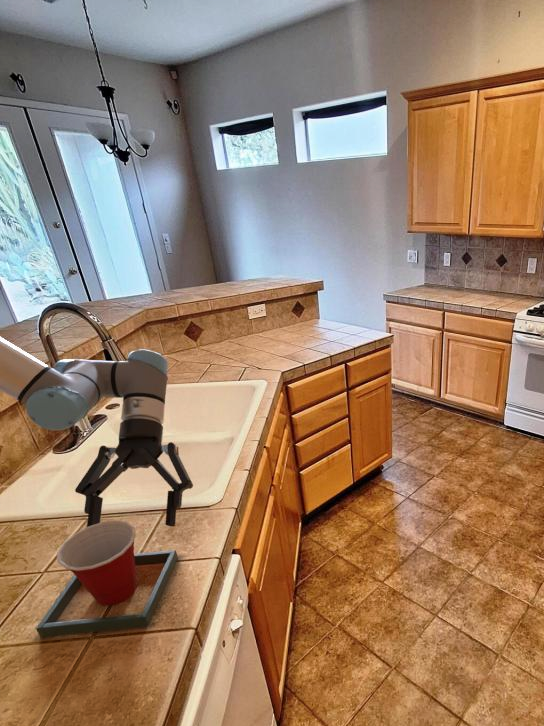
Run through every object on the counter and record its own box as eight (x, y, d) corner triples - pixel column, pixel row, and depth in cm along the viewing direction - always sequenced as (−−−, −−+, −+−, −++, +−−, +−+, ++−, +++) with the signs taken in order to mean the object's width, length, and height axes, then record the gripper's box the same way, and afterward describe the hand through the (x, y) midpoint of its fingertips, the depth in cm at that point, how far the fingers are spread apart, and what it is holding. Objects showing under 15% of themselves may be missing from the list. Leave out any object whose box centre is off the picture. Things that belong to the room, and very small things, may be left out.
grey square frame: (42, 642, 67) (35, 628, 65) (91, 570, 80) (86, 557, 79) (150, 630, 69) (145, 616, 67) (179, 562, 83) (175, 550, 81)
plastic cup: (64, 621, 69) (37, 565, 64) (103, 573, 79) (83, 520, 74) (132, 620, 70) (111, 564, 64) (163, 572, 79) (147, 520, 74)
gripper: (63, 419, 82) (45, 531, 75) (201, 413, 85) (195, 520, 79) (86, 432, 89) (71, 535, 82) (212, 426, 93) (207, 525, 86)
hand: (131, 528), depth 81 cm, fingers open, 13 cm apart
